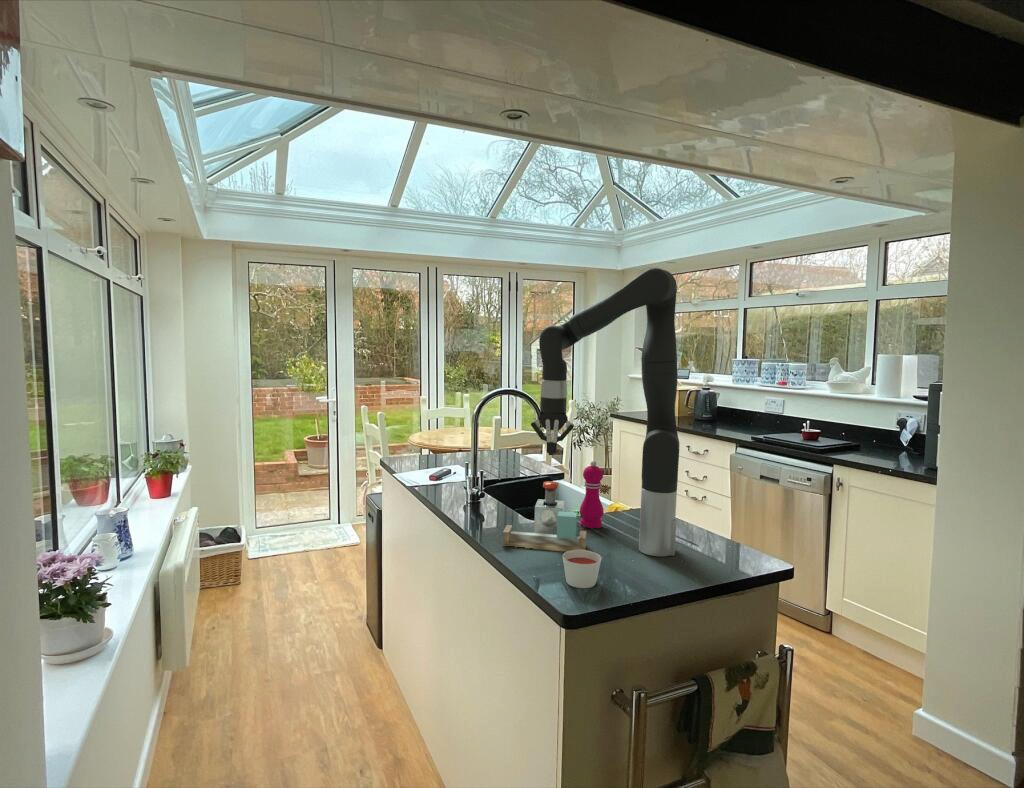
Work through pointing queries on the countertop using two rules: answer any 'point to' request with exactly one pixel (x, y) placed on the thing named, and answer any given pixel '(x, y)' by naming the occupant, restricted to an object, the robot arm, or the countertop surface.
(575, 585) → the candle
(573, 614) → the countertop surface
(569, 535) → the teal block
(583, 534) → the rail
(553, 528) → the gauge cabinet
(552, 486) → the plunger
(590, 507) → the pepper mill
